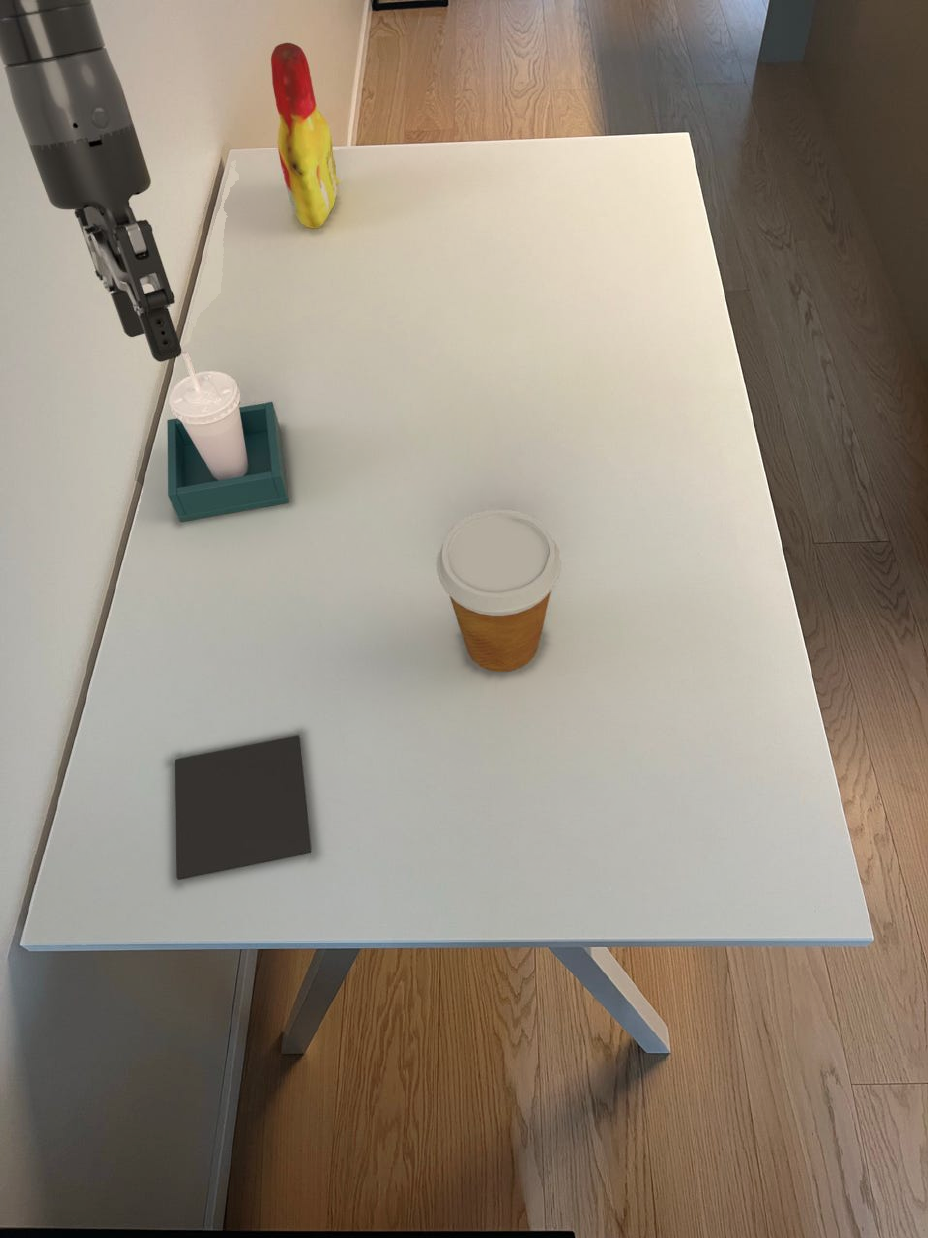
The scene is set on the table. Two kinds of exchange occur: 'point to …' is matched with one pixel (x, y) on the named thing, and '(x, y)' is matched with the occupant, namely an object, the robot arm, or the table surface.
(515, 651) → the disposable coffee cup
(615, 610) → the table surface
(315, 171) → the bottle
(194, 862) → the mat
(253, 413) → the bin
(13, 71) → the robot arm
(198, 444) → the smoothie
